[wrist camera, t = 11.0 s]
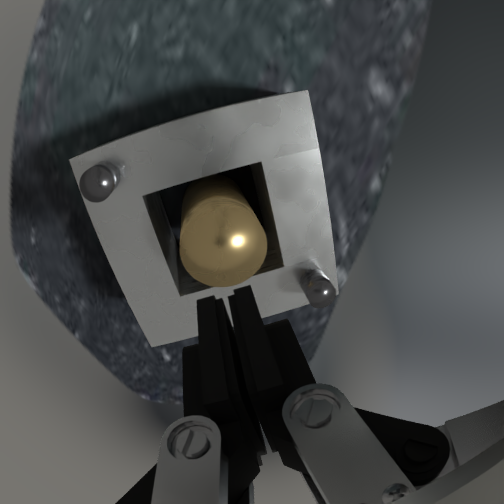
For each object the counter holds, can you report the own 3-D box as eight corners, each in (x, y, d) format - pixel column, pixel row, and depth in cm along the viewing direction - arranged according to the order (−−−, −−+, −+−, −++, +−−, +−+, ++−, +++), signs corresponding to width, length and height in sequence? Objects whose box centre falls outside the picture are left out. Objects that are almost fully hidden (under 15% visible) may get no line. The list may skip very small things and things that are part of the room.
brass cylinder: (174, 184, 20) (167, 222, 14) (235, 166, 20) (256, 196, 14) (192, 239, 22) (195, 296, 16) (249, 222, 22) (274, 273, 16)
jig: (96, 146, 18) (56, 165, 12) (281, 93, 19) (319, 89, 13) (157, 302, 23) (150, 364, 18) (312, 258, 24) (348, 308, 18)
